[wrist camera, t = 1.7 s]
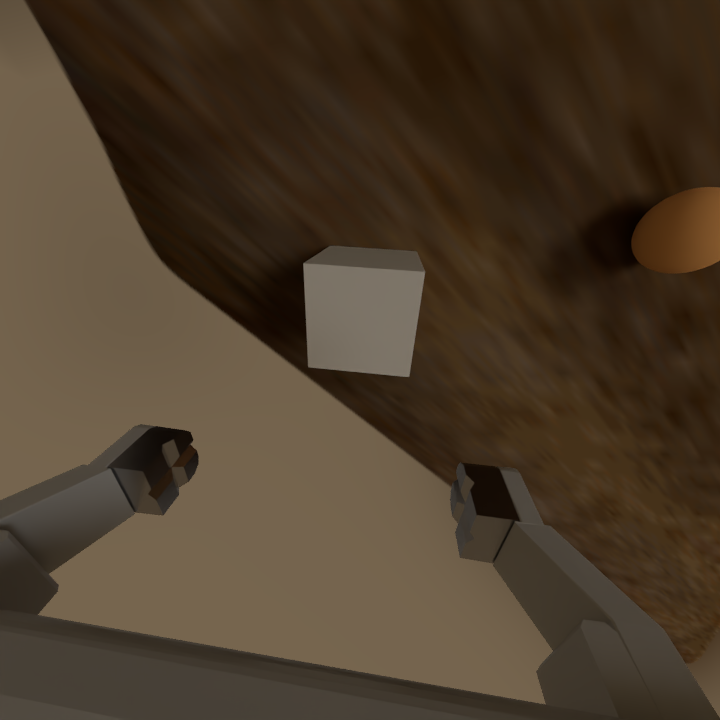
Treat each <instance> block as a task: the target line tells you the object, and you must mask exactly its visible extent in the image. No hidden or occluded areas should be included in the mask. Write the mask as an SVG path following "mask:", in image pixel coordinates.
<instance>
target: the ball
mask: <svg viewBox="0 0 720 720" xmlns="http://www.w3.org/2000/svg"><path fill="white" fill-rule="evenodd" d="M631 247H632V251H633V254H634V256H635V258H636V259H637V260H638V262H639V263H640V264H642V265H643V266H645V267H646V268H648V269H650V270H653V271H656V272H661V273H670V274H678V273H686V272H691V271H695V270H699V269H702V268H705V267H707V266H710V265H712V264H714V263H716V262H718V261H719V260H720V188H718V187H702V188H695V189H690V190H686V191H683V192H680V193H677V194H675V195H672V196H670V197H668V198H666V199H664V200H663V201H661V202H660V203H658V204H657V205H655V206H654V207H652V208H651V209H650V210H649V211H648V212H647V213H646V214H645V215H644V216H643V217H642V219H641V220H640V221H639V223H638V224H637V226H636V228H635V230H634V232H633V235H632V241H631Z"/></svg>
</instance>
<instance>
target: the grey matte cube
mask: <svg viewBox="0 0 720 720" xmlns="http://www.w3.org/2000/svg"><path fill="white" fill-rule="evenodd" d="M303 267H304V288H305V309H306V330H307V351H308V367H312V368H322V369H332V370H343V371H353V372H363V373H373V374H383V375H394V376H404V377H409V374H410V367H411V361H412V354H413V348H414V341H415V334H416V328H417V321H418V315H419V308H420V302H421V295H422V289H423V282H424V276H425V270H424V268H423V266H422V263H421V261H420V258H419V256H418V254H417V251H404V250H389V249H373V248H358V247H343V246H329V247H328V248H326V249H324V250H323V251H321V252H320V253H318V254H317V255H315V256H314V257H312V258H311V259H309V260H308V261H306V262H305V263H303Z"/></svg>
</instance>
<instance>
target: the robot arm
mask: <svg viewBox="0 0 720 720" xmlns="http://www.w3.org/2000/svg"><path fill="white" fill-rule="evenodd" d="M192 441H193V438H192V435H191V432H189V431H185V430H178V429H171V428H165V427H158V426H149V425H142V424H141V425H138V426H135V427H133V428H132V429H131V430H130V431H128V432H127V433H126V434H125V435H123V436H122V437H121V438H120V439H119V440H117V441H116V442H115V443H114V444H113V445H111V446H110V447H109V448H108V449H107V450H105V451H104V452H103V453H102V454H101V455H99V456H98V457H97V458H96V459H95V460H93V461H92V462H91V463H90V464H89V465H81V466H79V467H76V468H74V469H72V470H69V471H67V472H65V473H62V474H60V475H58V476H55V477H53V478H51V479H49V480H46V481H44V482H42V483H39V484H37V485H35V486H32V487H30V488H28V489H25V490H23V491H21V492H18V493H16V494H14V495H12V496H9V497H7V498H5V499H3V500H0V720H720V718H719V716H718V715H717V713H716V711H715V710H714V708H713V707H712V705H711V704H710V702H709V700H708V699H707V697H706V696H705V694H704V693H703V691H702V689H701V688H700V686H699V685H698V683H697V681H696V680H695V678H694V677H693V675H692V673H691V672H690V670H689V669H688V667H687V666H686V664H685V662H684V661H683V659H682V658H681V656H680V654H679V653H678V651H677V650H676V648H675V646H674V645H673V643H672V642H671V640H670V638H669V637H668V635H667V634H666V632H665V631H664V629H663V628H661V627H660V626H659V625H658V624H657V623H656V622H655V621H654V620H653V619H652V618H650V617H649V616H648V615H647V614H646V613H645V612H644V611H643V610H642V609H641V608H640V607H638V606H637V605H636V604H635V603H634V602H633V601H632V600H631V599H630V598H629V597H627V596H626V595H625V594H624V593H623V592H622V591H621V590H620V589H619V588H618V587H617V586H615V585H614V584H613V583H612V582H611V581H610V580H609V579H608V578H607V577H606V576H604V575H603V574H602V573H601V572H600V571H599V570H598V569H597V568H596V567H595V566H593V565H592V564H591V563H590V562H589V561H588V560H587V559H586V558H585V557H584V556H583V555H581V554H580V553H579V552H578V551H577V550H576V549H575V548H574V547H573V546H572V545H570V544H569V543H568V542H567V541H566V540H565V539H564V538H563V537H562V536H561V535H560V534H558V533H557V532H556V531H555V530H554V529H553V528H552V527H551V526H547V525H544V524H543V522H542V520H541V518H540V515H539V513H538V511H537V509H536V507H535V505H534V503H533V501H532V498H531V496H530V494H529V492H528V490H527V488H526V486H525V484H524V482H523V479H522V477H521V475H520V473H519V471H518V470H516V469H515V468H505V467H495V466H488V465H479V464H469V463H460V464H459V465H458V468H457V471H456V473H457V478H458V479H457V480H456V481H454V482H453V484H452V488H451V499H450V501H451V511H452V516H453V518H454V519H455V520H456V521H457V523H458V526H457V529H456V532H455V533H456V539H457V544H458V549H459V555H460V558H465V559H471V560H477V561H483V562H489V563H494V564H493V566H494V567H495V569H496V570H497V572H498V573H499V574H500V576H501V577H502V578H503V580H504V582H505V583H506V584H507V586H508V587H509V589H510V590H511V592H512V593H513V594H514V595H515V597H516V599H517V600H518V601H519V603H520V604H521V606H522V607H523V609H524V610H525V611H526V613H527V614H528V616H529V617H530V618H531V620H532V621H533V623H534V624H535V626H536V627H537V628H538V630H539V631H540V633H541V634H542V635H543V637H544V638H545V639H546V641H547V643H548V644H549V646H550V647H551V648H552V650H553V652H552V653H551V654H550V655H549V656H548V658H547V659H546V660H545V661H544V662H543V663H542V664H541V665H540V667H539V668H538V670H537V675H538V679H539V682H540V685H541V689H542V693H543V696H544V699H545V703H546V705H545V704H539V703H533V702H528V701H522V700H516V699H511V698H505V697H499V696H493V695H487V694H482V693H477V692H471V691H465V690H459V689H454V688H448V687H442V686H436V685H431V684H426V683H419V682H414V681H409V680H403V679H397V678H391V677H386V676H380V675H374V674H369V673H363V672H357V671H352V670H346V669H340V668H335V667H329V666H323V665H318V664H312V663H306V662H301V661H295V660H289V659H284V658H278V657H272V656H267V655H261V654H255V653H250V652H244V651H238V650H233V649H227V648H221V647H215V646H210V645H204V644H198V643H193V642H187V641H182V640H176V639H170V638H164V637H159V636H153V635H148V634H141V633H136V632H131V631H124V630H119V629H114V628H107V627H102V626H97V625H91V624H85V623H80V622H74V621H68V620H62V619H57V618H51V617H45V616H39V615H38V614H39V613H40V611H41V610H42V609H43V608H44V607H45V606H46V604H47V603H48V602H49V601H50V600H51V599H52V597H53V596H54V595H55V594H56V593H57V592H58V584H57V583H56V582H55V581H54V580H53V579H52V577H51V576H50V575H49V573H51V572H52V571H53V570H55V569H57V568H58V567H59V566H61V565H62V564H64V563H65V562H67V561H68V560H69V559H71V558H72V557H74V556H75V555H76V554H78V553H80V552H81V551H82V550H84V549H85V548H87V547H88V546H89V545H91V544H92V543H94V542H95V541H96V540H98V539H100V538H101V537H102V536H104V535H105V534H107V533H108V532H110V531H111V530H113V529H114V528H115V527H117V526H118V525H120V524H121V523H122V522H124V521H125V520H127V519H128V518H130V517H131V516H132V515H134V514H135V513H134V512H137V513H146V514H155V515H164V514H165V512H166V511H167V509H168V508H169V507H170V506H171V504H172V503H173V502H174V500H175V499H176V498H177V497H178V495H179V487H181V486H182V485H184V484H185V483H187V482H189V480H190V479H191V478H192V476H193V475H194V474H195V471H196V468H197V466H198V453H197V450H196V449H194V448H193V447H192V446H191V443H192Z"/></svg>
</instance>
